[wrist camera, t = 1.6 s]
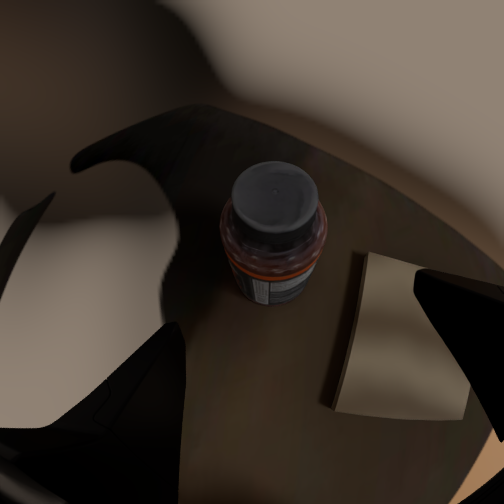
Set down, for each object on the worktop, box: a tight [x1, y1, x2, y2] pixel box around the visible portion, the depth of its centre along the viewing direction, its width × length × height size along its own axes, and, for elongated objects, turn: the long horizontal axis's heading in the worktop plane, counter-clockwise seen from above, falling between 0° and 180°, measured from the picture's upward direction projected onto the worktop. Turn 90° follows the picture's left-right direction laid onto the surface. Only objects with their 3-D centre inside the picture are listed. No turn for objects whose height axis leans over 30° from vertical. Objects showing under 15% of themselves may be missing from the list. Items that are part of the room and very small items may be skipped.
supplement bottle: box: [219, 161, 328, 307], centre depth 17 cm, size 6×6×11 cm
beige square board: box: [331, 252, 470, 420], centre depth 19 cm, size 13×13×1 cm
